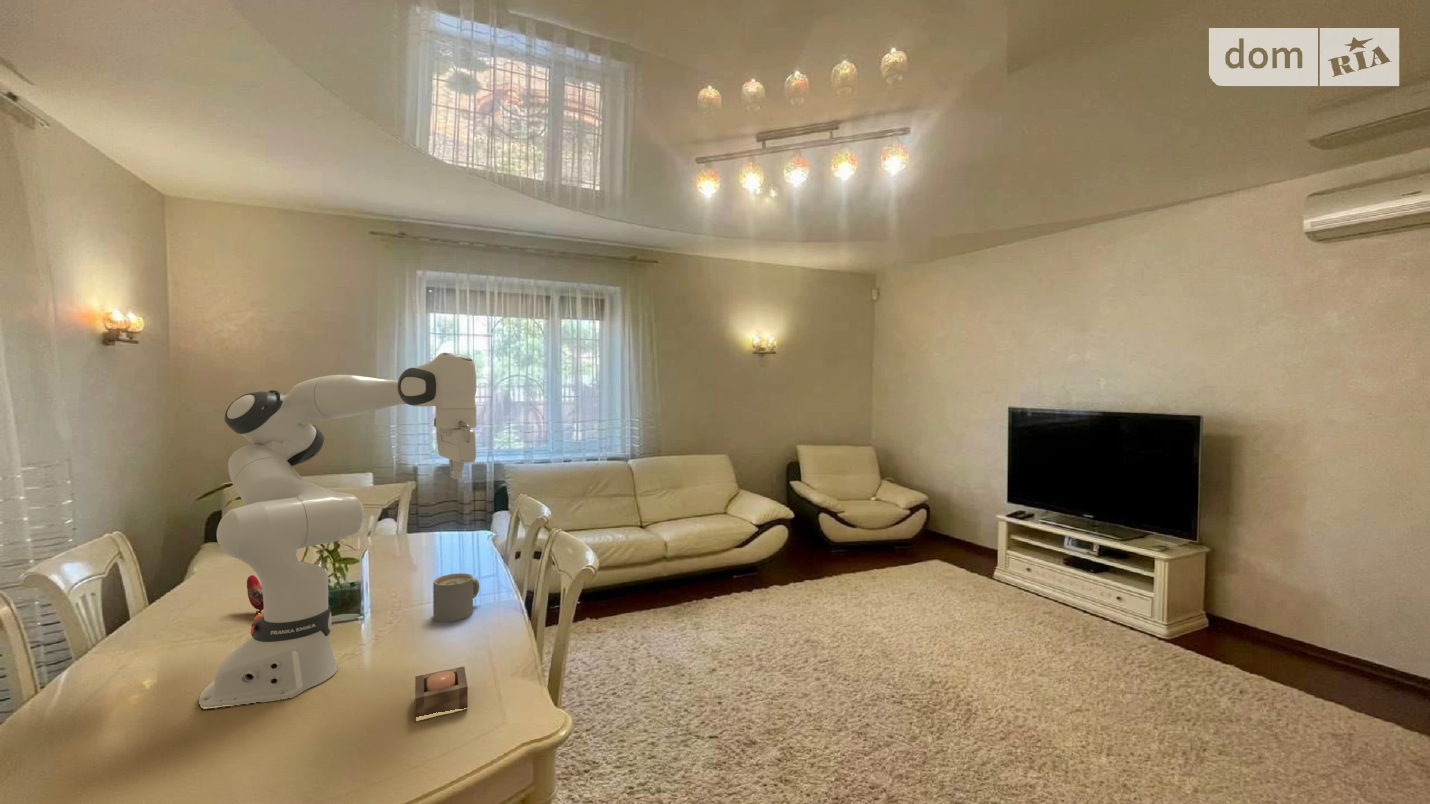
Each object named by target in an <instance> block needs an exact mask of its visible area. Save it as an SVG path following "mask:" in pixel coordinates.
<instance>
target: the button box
mask: <svg viewBox="0 0 1430 804" xmlns="http://www.w3.org/2000/svg"><path fill="white" fill-rule="evenodd" d="M443 671H451V672H454V673H455V686H451V687H447V688H442V689H438V690H433V691H429V692H427V679H428V677H430V676H431V675H433V674H435V673H438V672H443ZM414 682H415V683H414V691H415V692H414V718H415V717H419V716H424V715H429V714H433V713H436V712H437V713H438V712H445V711H450V710H455V709H464V708H467V707H468V704H469V703H468V701H469V700H468V697H469V695H468V694H469V693H468V692H469V691H468V690H469V689H468V687H469V686H468V680H467V673H466V668H465V666H459V667H455V668H450V669H445V670H444V669H443V670H440V671H435V672H431V673H425V674H420V675H417V676H415V681H414ZM468 708H469V707H468Z"/></svg>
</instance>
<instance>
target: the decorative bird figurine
mask: <svg viewBox="0 0 1430 804" xmlns="http://www.w3.org/2000/svg"><path fill="white" fill-rule="evenodd" d="M246 589H247V590H246V591H247V597H248V601H249V603H250V604H251V606H252V607H253V608H254V610H255V609H256V610H255V611H256V612H255V614H256V613H260V614H261V613H262V612H263V611H264V604H263V592H262V585H261V582H260V580H259V578H258V577H256V575H253V574H251V575H249V576H248V577H247V579H246Z"/></svg>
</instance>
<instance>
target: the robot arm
mask: <svg viewBox="0 0 1430 804" xmlns="http://www.w3.org/2000/svg"><path fill="white" fill-rule="evenodd" d="M476 393H477V371H476V366H475V363H474V361H473V359H472V358H471V357H470V356H468V355H463V354H459V353H453V352H442V353H441V352H440V353H439V354H438V355H437V356H436V357H435V358H434V359H432V360H430V361H428V362H426V363H424V364H421V365H417V366H414V367H409V368H407V369H405V370H403V371H402V373H401V374H400V376H399V378H398V379H397V380H395V379H385V378H384V379H383V378H376V377H370V376H361V375H356V374H355V375H353V374H333V375H332V374H331V375H324V376H319V377H315V378H311V379H308V380H307V379H306V380H305V381H301V382H299V383H297V384H295V385H294V386H293V387H291V389H290V390H289V392H287V393H286V394H283V393H282V392H281V391H279V390H274V389H272V390H269V391H253V392H249V393H244V394H242V395H240V396H239V397H238V398H236V399H234V401H232V402H231V403H230V405H229V406H227V409H226V411H225V414H224V422H225V423H226V425H227V426H228V427H229V429H231V430H232V431H233V432H235V433H236V434H239V435H241V436H243V438H245V439H246V440H247V441H249V442H250V443H249V444H247V445H244V446H241V447H239V448H238V449H236V450H235V451H234V452H233V453H232V454H231V455H230V457H229V459H228V463H227V467H228V468H227V469H228V475H229V478H230V481H231V483H232V486H233V487H234V489H235V491H236V493H237V494H238V495H239V497H240V499H241V500H242V501H243V503H244V505H242V506H240V507H239V506H238V507H235V508H232V509H229V510H228V511H227V512H226V513H225V514H224V515H223V516H222V518H220V521H219V523H218V525H217V528H216V540H217V543H218V545H219V547H220V549H221V550H222V551H223V552H225V554H227V555H228V556H229V557H232V558H235V559H237V560H240V561H242V562H243V563H244V564H247V566H249V567H250V568H251V569H252V570H253V571H254V572H255V574H256V575H257V578H258V580H259V583H260V585H261V586H262V592H263V604H264V609H263V613H262V612H261V614H256V615H255V617H254V618H253V620H252V624H251V626H250V627H251V628H250V635H251V637H250V638H249V639H248V640H247V641H245V642H244V643H243V644H241V645H240V646H239V647H238V648H236V649H235V650H233V651H232V652H231V653H230V654H229V655H227V656H226V657H225V658H224V660H222V661H221V663H220V664H219V667H218V668H217V671H216V676H215V677H214V678H215V679H214V680H212V681H211V682H210V683H209V684H208V685H207V686H205V688H204V689H203V691H202V692H201V693H200V696H199V699H198V705H199V704H200V705H201V706H202V707H215V706H223V705H237V704H246V703H247V704H246V705H250V704H249V703H254V704H257V703H256V702H261V703H267V702H273V701H274V702H276V700H277V701H283V699H284V700H288V699H287V698H290V699H292V698H295V697H296V696H298V695H300V694H301V693H302V692H303V693H304V691H306V690H309V689H310V688H312V687H315V686H317V685H319V684H322V683H323V682H325V681H326V680H328V679H330V678H331V677H332V676H334V675H335V674H336V672H337V670H338V664H337V663H336V660H335V656H334V653H333V649H332V643H331V642H332V641H331V636H330V634H331V631H332V612H331V606H330V605H329V575H328V573H327V571H326V570H325V568H323V567H322V566H320V565H319V564H318V565H317V564H314V563H311V562H307V561H301V560H298V555H297V552H298V550H301V549H303V548H304V549H305V548H309V547H315V546H320V545H324V544H331V543H333V542H337V541H339V540H342V539H345V538H347V537H351V536H353V535H355V534H357V533H358V532H359V531H360V530H361V527H362V526H363V524H364V520H365V515H366V514H365V507H364V505H363V503H362V501H361V500H360V498H358V497H357V495H355V494H354V493H347V492H343V491H342V492H340V491H336V490H331V489H328V488H326V487H322V486H320V485H317V484H315V483H312V482H310V481H308V480H306V479H304V478H303V477H302V476H301V474H299V473H298V472H297V471H296V470H295V468H294V466H297V465H300V464H303V463H305V462H307V461H310V460H312V459H313V458H315V457H316V456H317V455H318V454H319V452H320V451H322V447H323V445H324V441H325V436H324V434H323V432H322V431H321V430H320V429H319V428H318V427H317V426H316V425H314V424H311V423H312V422H315V421H319V420H337V419H338V420H339V419H345V418H350V417H351V418H352V417H355V416H359V415H363V414H366V413H371V412H375V411H378V410H381V409H386V408H389V407H390V408H391V407H395V406H398V405H400V406H401V405H409V406H413V407H421V408H422V407H435V417H434V418H433V426H434V428H436V431H435V432H436V445H437V452H438V455H439V456H440V457H442V458H445V459H448V465H449V469H450V477H451V478H452V479H454V480H458V479H459V480H460V479H462V478H463V469H464V466H465V464H467V463H470V464H471V463H474V462H475V461H476V459H477V446H476V445H477V443H476V435H475V431H474V430H473V429H476V428H477V404H476V399H475V398H476ZM280 699H282V700H280Z"/></svg>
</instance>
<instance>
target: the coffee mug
mask: <svg viewBox="0 0 1430 804" xmlns="http://www.w3.org/2000/svg"><path fill="white" fill-rule="evenodd" d="M432 584H433V586H432V587H433V588H432V589H433V590H432V592H433V595H432V598H433V599H432V601H433V602H432V603H433V605H432V607H433V608H432V609H433V613H432V616H433V617H432V618H433V620H434V621H435V622H440V623H453V622H458V621H461V620H465V619H467V618H469V617H471V616H472V615H473V612H474V599H475V598H476V597H477V596H478V594H479V592H480V582H479V580H478V579H477V578H475V577H474V576H473V575H472V574H470V573H465V572H457V573H448V574H444V575H441V576H439V577H436V578H435V579H434V580H433V582H432Z"/></svg>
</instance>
